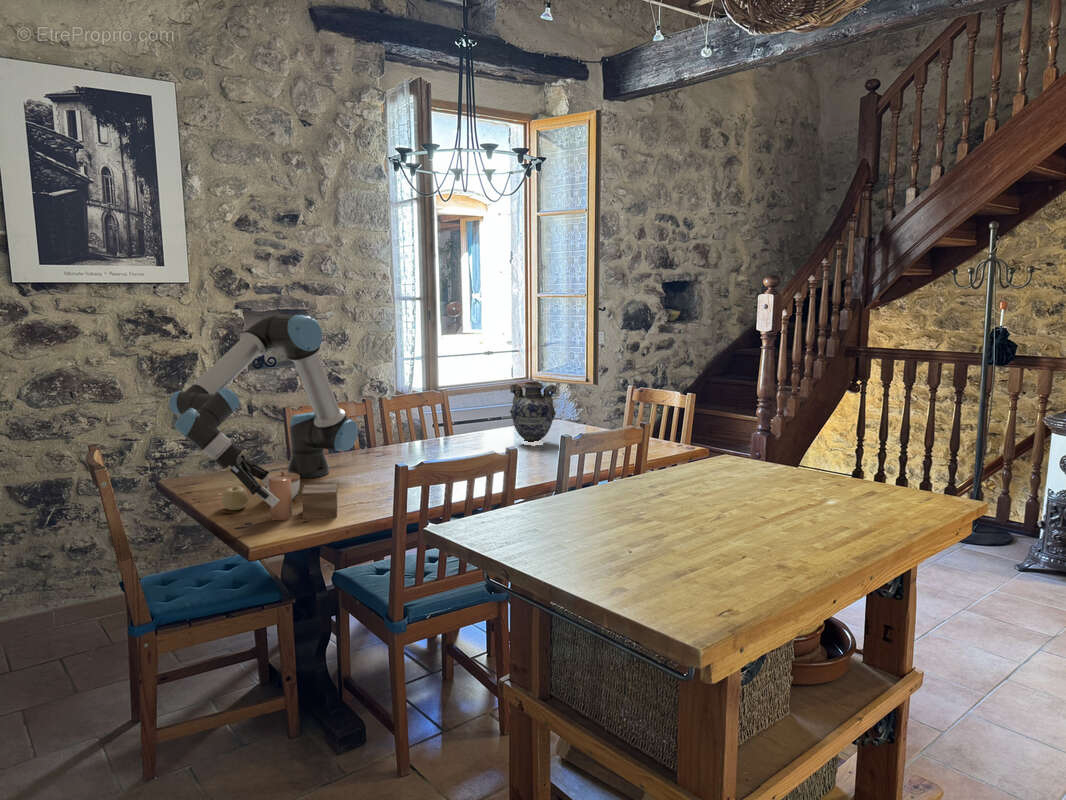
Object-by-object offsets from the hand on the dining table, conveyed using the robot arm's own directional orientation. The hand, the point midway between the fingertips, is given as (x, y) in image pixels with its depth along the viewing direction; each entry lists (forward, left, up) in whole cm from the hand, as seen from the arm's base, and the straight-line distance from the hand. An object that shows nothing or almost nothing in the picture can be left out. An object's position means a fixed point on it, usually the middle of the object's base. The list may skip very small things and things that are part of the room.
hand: (278, 497), depth 228 cm
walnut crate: (-3, +12, -6) cm, 14 cm away
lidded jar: (-22, -1, -7) cm, 23 cm away
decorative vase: (-93, +101, -7) cm, 137 cm away
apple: (-13, -14, -7) cm, 21 cm away
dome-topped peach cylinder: (-1, +1, -6) cm, 6 cm away
